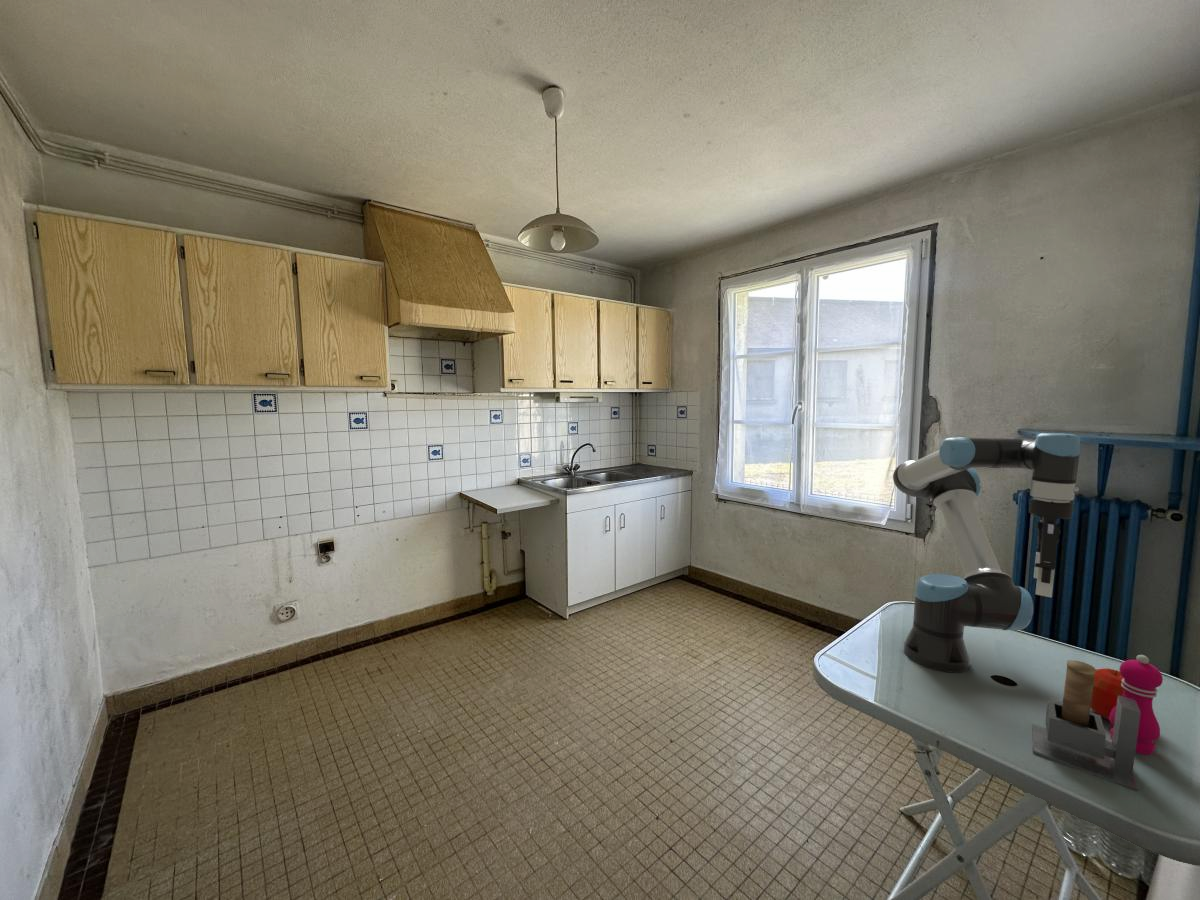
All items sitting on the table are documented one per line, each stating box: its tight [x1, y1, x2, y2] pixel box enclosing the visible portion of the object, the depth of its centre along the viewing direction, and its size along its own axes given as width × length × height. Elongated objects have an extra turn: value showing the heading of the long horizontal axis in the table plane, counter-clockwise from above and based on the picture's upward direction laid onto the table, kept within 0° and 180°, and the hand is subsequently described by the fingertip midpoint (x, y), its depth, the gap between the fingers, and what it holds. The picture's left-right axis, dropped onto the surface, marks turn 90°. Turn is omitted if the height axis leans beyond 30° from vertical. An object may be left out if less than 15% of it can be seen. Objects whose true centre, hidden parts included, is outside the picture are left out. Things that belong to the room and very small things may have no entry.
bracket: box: [1031, 695, 1141, 791], centre depth 98 cm, size 14×11×14 cm
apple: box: [1091, 668, 1124, 721], centre depth 110 cm, size 10×10×12 cm
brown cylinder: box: [1061, 659, 1096, 727], centre depth 98 cm, size 4×4×15 cm
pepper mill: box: [1108, 654, 1164, 755], centre depth 101 cm, size 7×7×20 cm
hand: (1042, 587), depth 114 cm, fingers open, 13 cm apart
